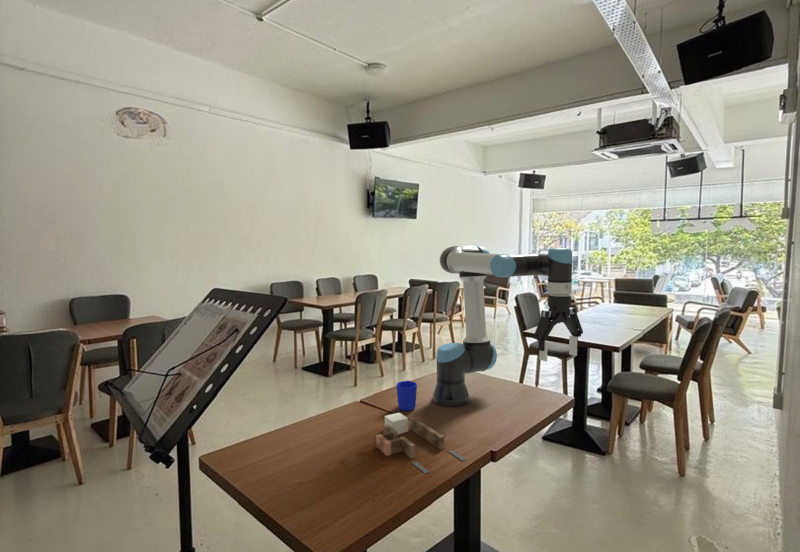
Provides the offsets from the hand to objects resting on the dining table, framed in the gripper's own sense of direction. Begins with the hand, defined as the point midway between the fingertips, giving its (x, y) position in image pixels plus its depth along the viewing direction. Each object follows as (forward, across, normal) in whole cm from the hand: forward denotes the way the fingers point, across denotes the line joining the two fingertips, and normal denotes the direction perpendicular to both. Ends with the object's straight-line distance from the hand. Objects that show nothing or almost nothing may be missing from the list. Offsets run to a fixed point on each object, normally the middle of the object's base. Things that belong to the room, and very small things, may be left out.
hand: (558, 357), depth 145 cm
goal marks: (+27, -45, +4) cm, 52 cm away
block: (+27, -46, +30) cm, 62 cm away
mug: (+28, -33, +48) cm, 64 cm away
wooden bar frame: (+27, -48, +19) cm, 59 cm away
